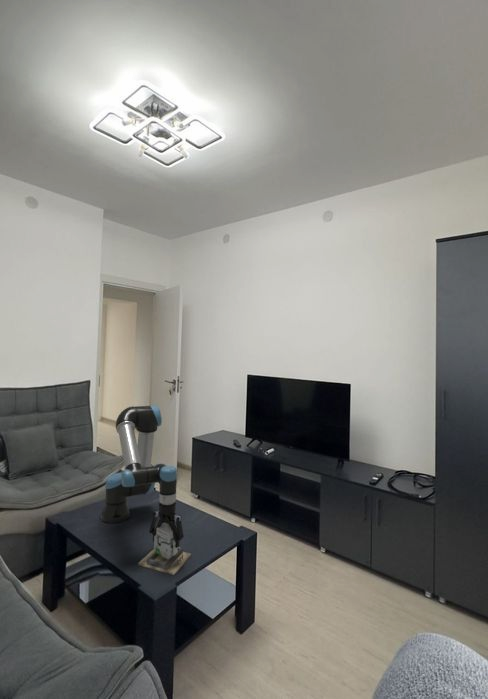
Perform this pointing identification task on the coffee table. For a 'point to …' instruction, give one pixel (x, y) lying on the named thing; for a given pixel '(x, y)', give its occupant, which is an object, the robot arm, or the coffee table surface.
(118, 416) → the robot arm
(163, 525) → the ink box
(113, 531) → the coffee table surface
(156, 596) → the coffee table surface
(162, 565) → the header board
